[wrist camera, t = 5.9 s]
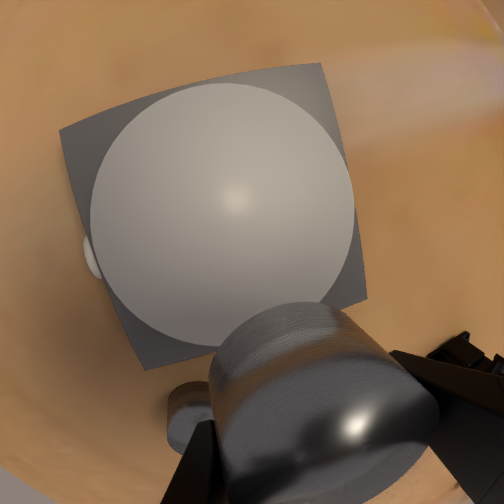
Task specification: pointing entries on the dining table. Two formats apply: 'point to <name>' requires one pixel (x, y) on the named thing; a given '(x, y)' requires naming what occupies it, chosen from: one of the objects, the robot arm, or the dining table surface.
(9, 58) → the dining table surface
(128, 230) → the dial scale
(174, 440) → the cylinder
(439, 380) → the robot arm
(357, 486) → the cylinder
